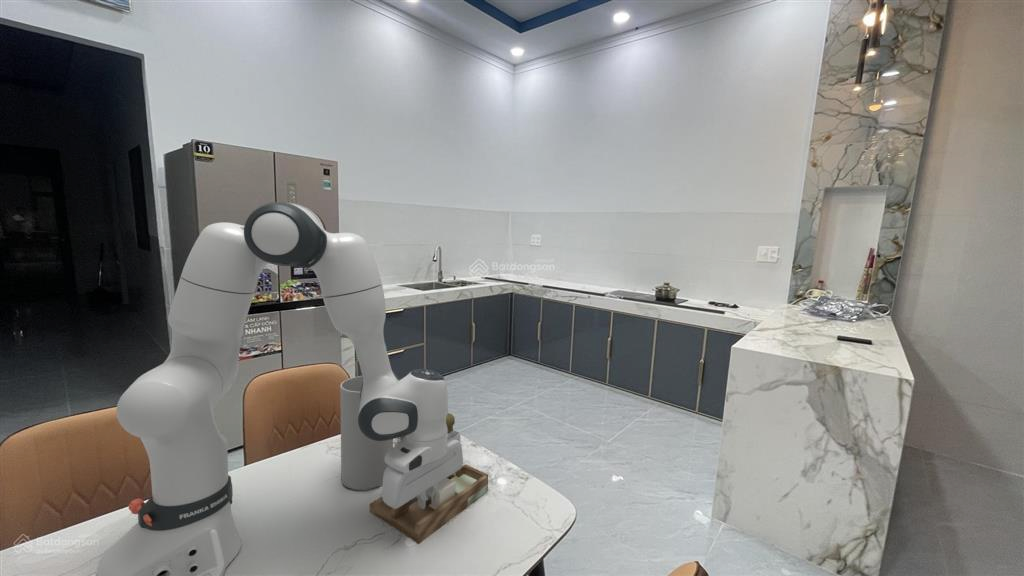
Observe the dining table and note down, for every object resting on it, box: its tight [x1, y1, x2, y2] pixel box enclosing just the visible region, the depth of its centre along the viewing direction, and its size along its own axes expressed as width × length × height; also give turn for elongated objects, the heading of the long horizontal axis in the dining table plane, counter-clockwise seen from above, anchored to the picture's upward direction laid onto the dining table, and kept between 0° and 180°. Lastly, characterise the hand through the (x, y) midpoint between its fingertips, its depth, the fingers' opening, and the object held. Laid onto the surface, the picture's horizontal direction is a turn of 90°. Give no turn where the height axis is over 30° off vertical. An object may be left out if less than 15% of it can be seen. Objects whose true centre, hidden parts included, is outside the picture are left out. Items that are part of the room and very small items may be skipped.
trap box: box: [369, 463, 489, 545], centre depth 96 cm, size 23×16×4 cm
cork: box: [446, 412, 456, 434], centre depth 119 cm, size 6×6×11 cm
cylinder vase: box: [339, 375, 394, 491], centre depth 104 cm, size 12×12×25 cm
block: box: [425, 478, 456, 510], centre depth 93 cm, size 5×5×4 cm
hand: (425, 505), depth 89 cm, fingers closed
